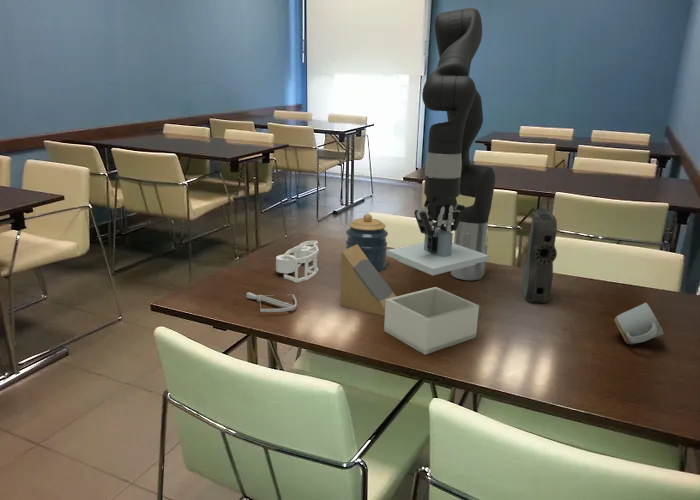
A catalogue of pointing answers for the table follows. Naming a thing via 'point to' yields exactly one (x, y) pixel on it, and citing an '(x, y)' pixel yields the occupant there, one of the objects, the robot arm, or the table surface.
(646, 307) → the ceramic mug
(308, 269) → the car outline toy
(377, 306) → the sandwich container
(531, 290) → the handheld device
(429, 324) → the box
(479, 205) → the robot arm
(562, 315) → the table surface
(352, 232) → the canister
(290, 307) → the crossbow
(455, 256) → the lid
